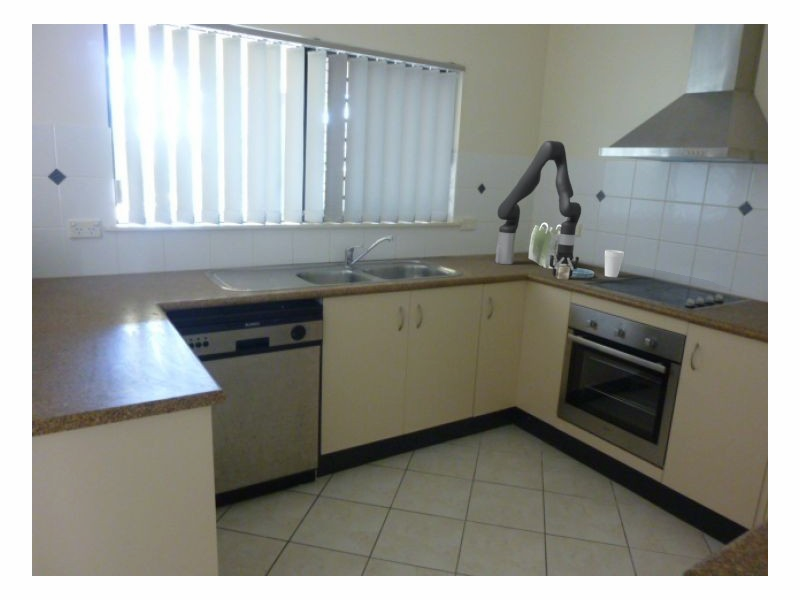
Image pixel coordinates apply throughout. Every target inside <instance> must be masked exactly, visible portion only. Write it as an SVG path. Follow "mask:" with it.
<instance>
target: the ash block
mask: <svg viewBox="0 0 800 600" xmlns="http://www.w3.org/2000/svg"><path fill="white" fill-rule="evenodd" d="M569 271H570V267H569V266H568V265H567V266H562V265H559V266H558V267H557V272H556V276H555V278H556V279H559V280H569V279H570V277H569Z"/></svg>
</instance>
